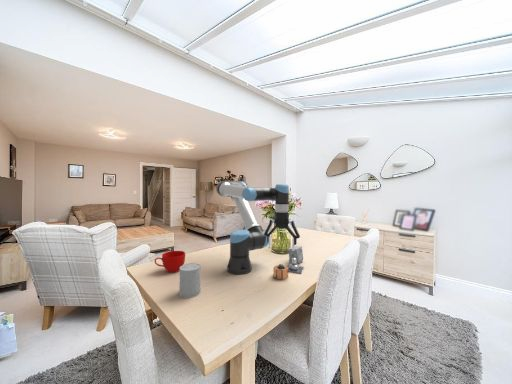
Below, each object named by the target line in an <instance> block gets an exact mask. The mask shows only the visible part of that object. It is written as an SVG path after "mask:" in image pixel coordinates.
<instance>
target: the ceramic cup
mask: <svg viewBox="0 0 512 384" xmlns="http://www.w3.org/2000/svg"><path fill="white" fill-rule="evenodd" d="M185 259H186V252H185V251H183V250H169V251H166V252H164V253H162V256H161V257H158V256H157V257H156V258H155V259H154V264H155V265H156V266H158V267H164V269H165V270H166V271H167V272H168V273H177V272H180V266H182V265H185ZM157 260H161V262H162V264H159V263H157Z"/></svg>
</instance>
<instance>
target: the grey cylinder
mask: <svg viewBox="0 0 512 384" xmlns="http://www.w3.org/2000/svg"><path fill="white" fill-rule="evenodd" d="M201 292H202V291H201V264H199V263H196V262H195V263H194V262H193V263H184V264H183V265H182V266H180V270H179V296H180V297H181V298H184V299H190V298H194V297H197V296H199V294H201Z"/></svg>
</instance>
